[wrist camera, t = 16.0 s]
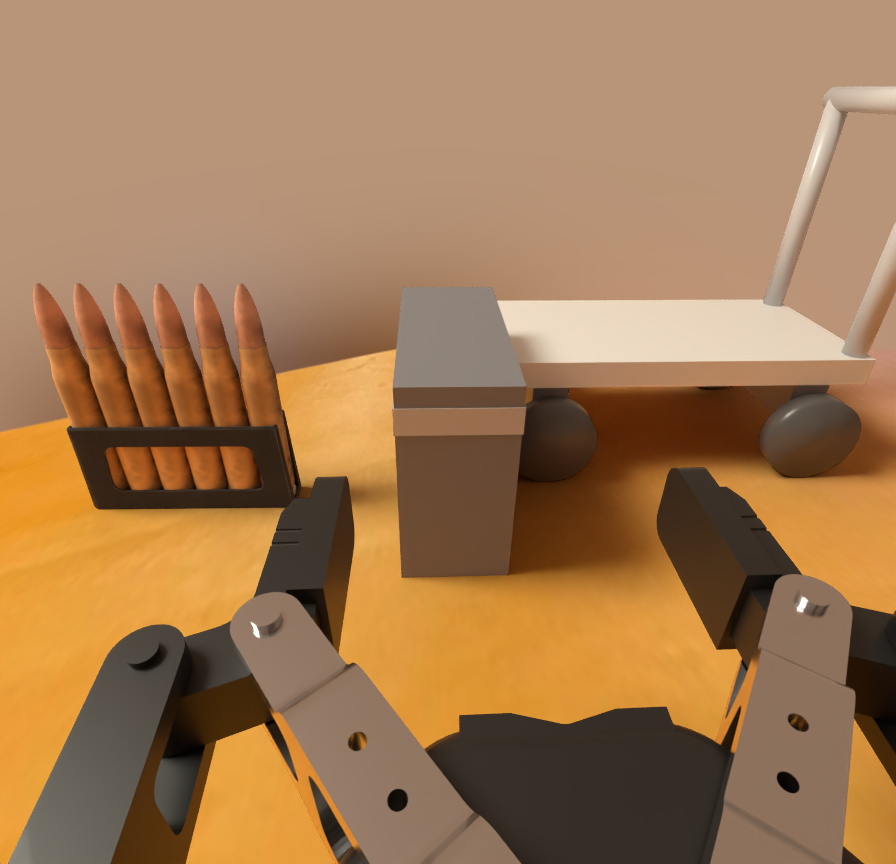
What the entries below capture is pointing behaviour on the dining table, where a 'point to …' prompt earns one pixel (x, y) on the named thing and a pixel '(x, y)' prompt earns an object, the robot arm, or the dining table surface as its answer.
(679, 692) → the dining table surface
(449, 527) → the grey lidded box
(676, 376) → the trolley
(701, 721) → the dining table surface
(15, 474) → the dining table surface
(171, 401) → the ammunition clip
